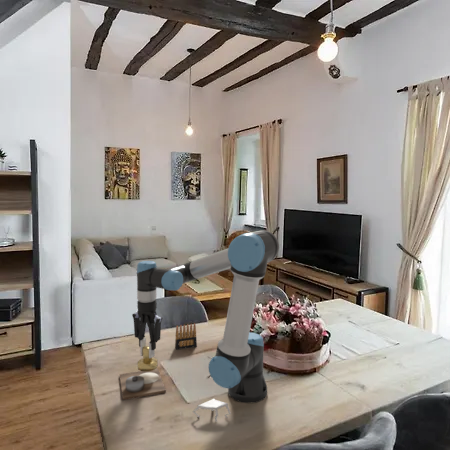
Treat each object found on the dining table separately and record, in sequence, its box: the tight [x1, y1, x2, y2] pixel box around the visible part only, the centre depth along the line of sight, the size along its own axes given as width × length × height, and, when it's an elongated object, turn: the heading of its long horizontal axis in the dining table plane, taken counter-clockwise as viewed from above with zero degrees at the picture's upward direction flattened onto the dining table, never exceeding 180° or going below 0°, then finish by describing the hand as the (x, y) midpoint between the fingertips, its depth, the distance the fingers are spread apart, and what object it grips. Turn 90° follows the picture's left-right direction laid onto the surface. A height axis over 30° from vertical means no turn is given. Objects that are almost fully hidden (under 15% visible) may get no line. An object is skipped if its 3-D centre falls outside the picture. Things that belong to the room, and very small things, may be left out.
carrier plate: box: [119, 367, 167, 401], centre depth 145 cm, size 18×16×5 cm
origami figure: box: [192, 397, 231, 422], centre depth 125 cm, size 12×8×5 cm
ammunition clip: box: [174, 322, 198, 351], centre depth 180 cm, size 11×2×12 cm, turn 110°
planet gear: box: [137, 345, 159, 372], centre depth 148 cm, size 8×8×8 cm
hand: (147, 355), depth 148 cm, fingers closed on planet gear, 3 cm apart
